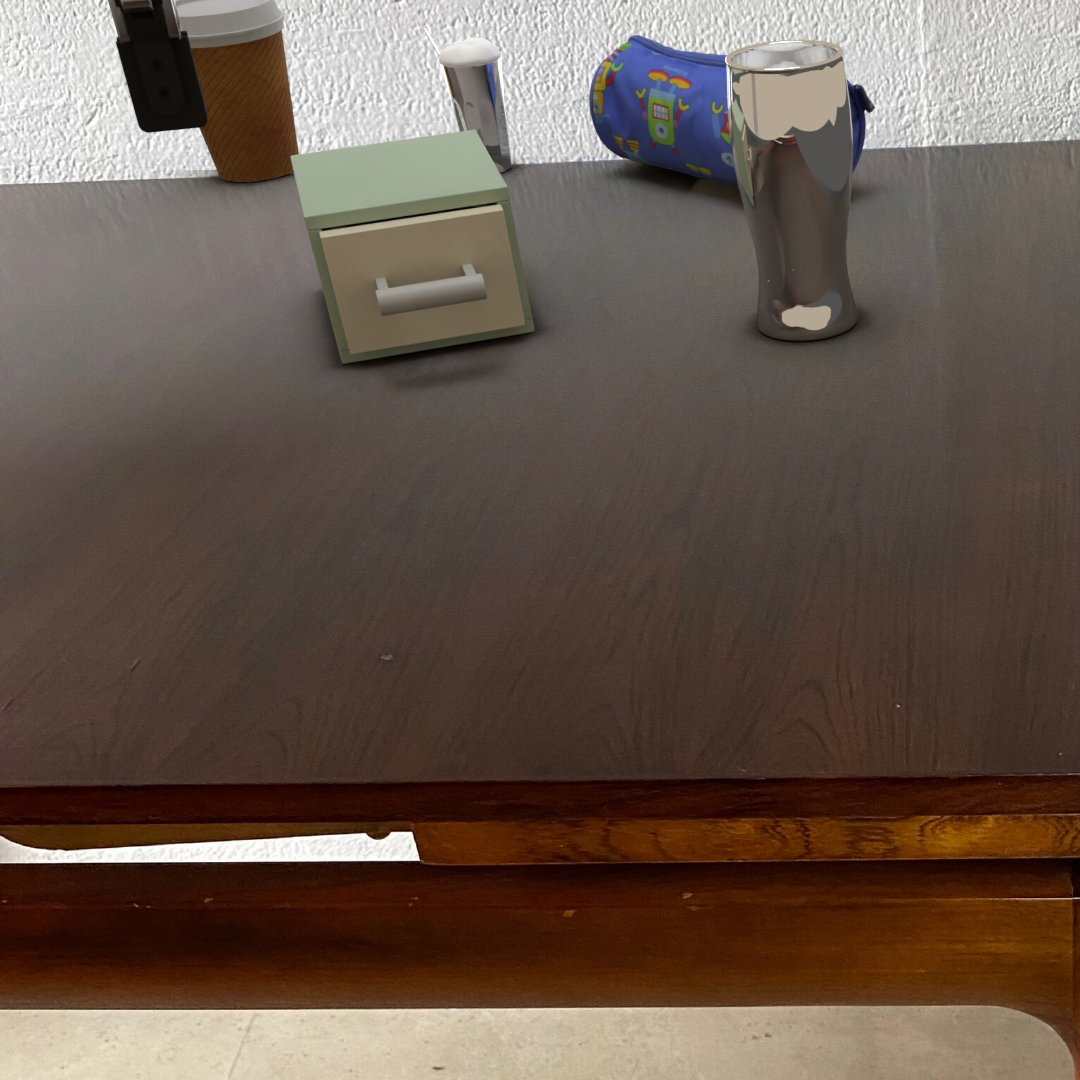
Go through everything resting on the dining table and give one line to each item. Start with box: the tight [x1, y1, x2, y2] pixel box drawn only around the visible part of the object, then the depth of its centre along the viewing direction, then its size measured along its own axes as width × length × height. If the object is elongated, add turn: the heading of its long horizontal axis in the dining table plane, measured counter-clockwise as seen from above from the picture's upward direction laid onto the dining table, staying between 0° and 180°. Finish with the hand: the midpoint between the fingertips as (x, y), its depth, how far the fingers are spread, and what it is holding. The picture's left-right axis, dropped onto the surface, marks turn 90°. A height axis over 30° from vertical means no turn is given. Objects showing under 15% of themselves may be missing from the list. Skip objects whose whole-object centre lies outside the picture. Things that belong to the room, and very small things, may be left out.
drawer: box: [319, 204, 525, 355], centre depth 104 cm, size 17×10×7 cm, turn 19°
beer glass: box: [725, 39, 858, 342], centre depth 100 cm, size 7×7×15 cm
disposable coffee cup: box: [175, 0, 300, 183], centre depth 133 cm, size 10×10×12 cm
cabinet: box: [291, 130, 535, 365], centre depth 107 cm, size 14×12×9 cm
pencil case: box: [588, 34, 876, 187], centre depth 125 cm, size 22×9×10 cm, turn 49°
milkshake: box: [423, 27, 512, 174], centre depth 131 cm, size 4×5×10 cm
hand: (174, 125), depth 85 cm, fingers closed
